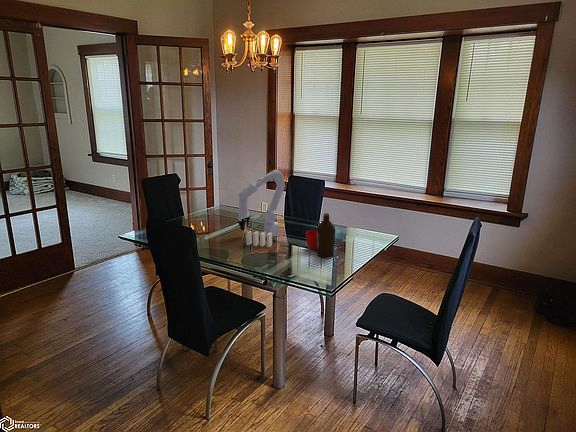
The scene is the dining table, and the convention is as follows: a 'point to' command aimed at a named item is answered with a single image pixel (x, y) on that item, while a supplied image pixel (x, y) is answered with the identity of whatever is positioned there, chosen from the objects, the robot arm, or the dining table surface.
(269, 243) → the ivory domino
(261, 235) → the ivory domino
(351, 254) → the dining table surface
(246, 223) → the terracotta domino
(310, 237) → the ceramic cup
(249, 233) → the ivory domino
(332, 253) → the olive oil
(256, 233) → the ivory domino
